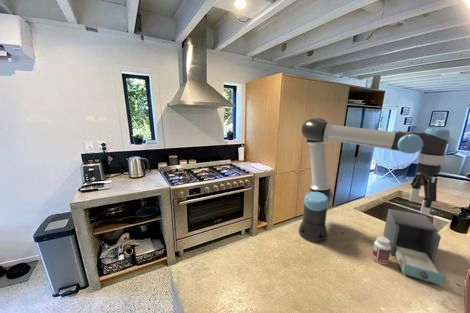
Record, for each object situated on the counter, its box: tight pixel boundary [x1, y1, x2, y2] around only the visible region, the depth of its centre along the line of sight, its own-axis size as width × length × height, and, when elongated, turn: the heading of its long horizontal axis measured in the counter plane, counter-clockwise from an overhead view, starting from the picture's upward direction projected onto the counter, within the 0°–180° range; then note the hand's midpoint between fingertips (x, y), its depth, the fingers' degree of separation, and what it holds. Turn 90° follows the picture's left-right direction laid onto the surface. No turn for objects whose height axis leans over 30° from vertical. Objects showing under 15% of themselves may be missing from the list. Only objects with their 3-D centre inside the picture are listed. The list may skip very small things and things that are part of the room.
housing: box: [383, 208, 442, 265], centre depth 94 cm, size 18×15×16 cm
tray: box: [394, 246, 446, 286], centre depth 83 cm, size 18×12×4 cm, turn 152°
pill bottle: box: [371, 235, 391, 265], centre depth 87 cm, size 6×6×11 cm
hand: (418, 207), depth 89 cm, fingers open, 13 cm apart
